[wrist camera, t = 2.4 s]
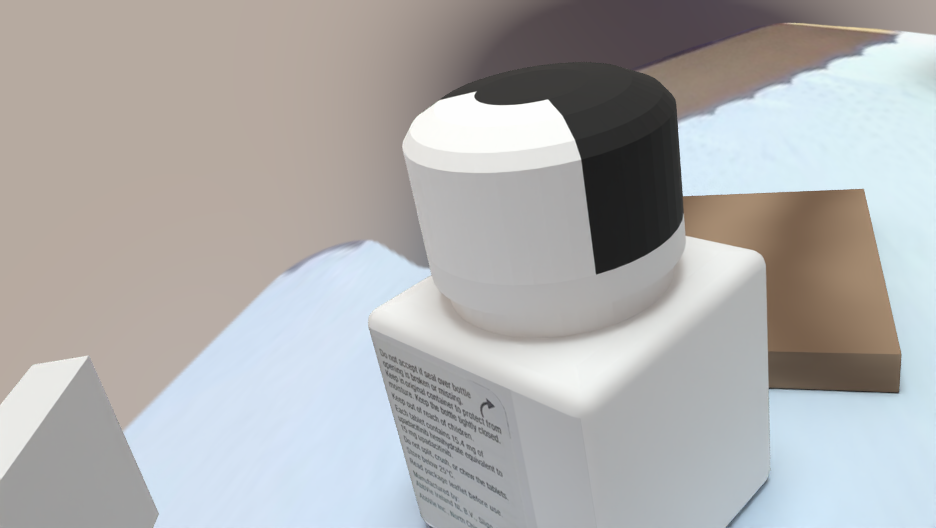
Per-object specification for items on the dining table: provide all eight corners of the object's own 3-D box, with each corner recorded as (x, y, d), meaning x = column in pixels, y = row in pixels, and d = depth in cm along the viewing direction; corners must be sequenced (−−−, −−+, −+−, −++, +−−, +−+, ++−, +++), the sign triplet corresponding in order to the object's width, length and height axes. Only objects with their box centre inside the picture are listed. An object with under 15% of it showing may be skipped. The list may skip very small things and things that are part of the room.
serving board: (862, 219, 38) (863, 188, 37) (898, 392, 27) (901, 354, 26) (490, 230, 44) (485, 204, 43) (399, 373, 33) (391, 342, 33)
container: (574, 394, 30) (520, 37, 24) (775, 476, 25) (767, 44, 19) (418, 523, 26) (306, 126, 20) (621, 658, 20) (548, 167, 14)
